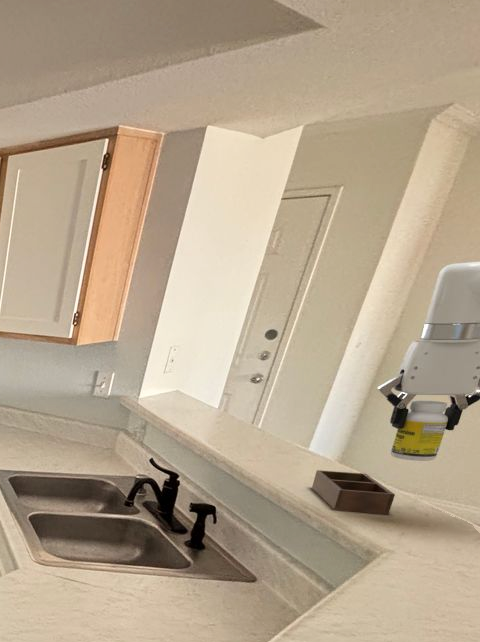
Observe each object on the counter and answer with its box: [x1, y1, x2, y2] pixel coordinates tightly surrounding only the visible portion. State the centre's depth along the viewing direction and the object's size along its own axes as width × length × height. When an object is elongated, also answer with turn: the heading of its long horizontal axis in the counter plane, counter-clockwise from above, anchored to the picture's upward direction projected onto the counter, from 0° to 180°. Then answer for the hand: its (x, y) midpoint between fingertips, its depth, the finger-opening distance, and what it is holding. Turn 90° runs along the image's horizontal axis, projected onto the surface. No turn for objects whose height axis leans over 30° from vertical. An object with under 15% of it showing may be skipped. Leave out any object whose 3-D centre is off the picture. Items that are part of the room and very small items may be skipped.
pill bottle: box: [390, 400, 448, 462], centre depth 115 cm, size 6×6×11 cm
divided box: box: [311, 469, 396, 515], centre depth 133 cm, size 9×17×5 cm, turn 151°
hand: (421, 427), depth 115 cm, fingers closed on pill bottle, 6 cm apart
